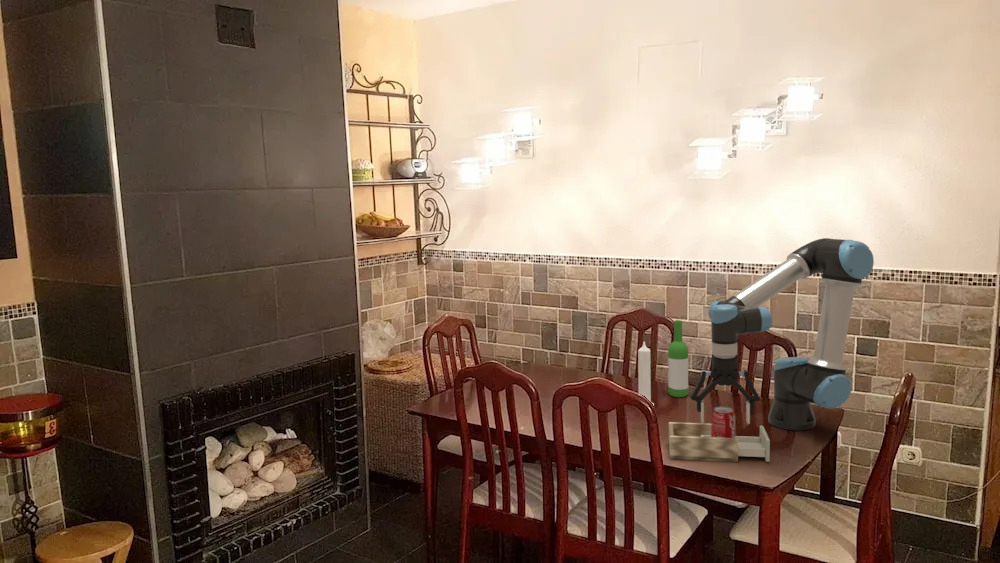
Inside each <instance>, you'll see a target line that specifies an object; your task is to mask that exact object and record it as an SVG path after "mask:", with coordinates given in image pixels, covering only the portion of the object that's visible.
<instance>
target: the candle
mask: <svg viewBox="0 0 1000 563" xmlns="http://www.w3.org/2000/svg"><path fill="white" fill-rule="evenodd" d="M646 344H647V343H646V341H643V342H642V346H641V347H640V348H639V349H637V356H638V357H637V358H638V360H637V361H638V362H637V363H638V364H637V368H638V371H637V374H638V377H637V378H638V380H637V383H638V390H637V391H638V393H639V394H641V395H643V396H645V397H646V398H647V399H648V400H649V401H650V402H651V403H652V404H653V406H654V407H655V403H654V402H652V400H651V399H652V398H651V392H652V391H651V389H652V388H651V349H650V348H649V347H647V345H646ZM639 394H638V395H639Z"/></svg>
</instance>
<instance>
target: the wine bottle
mask: <svg viewBox="0 0 1000 563" xmlns="http://www.w3.org/2000/svg"><path fill="white" fill-rule="evenodd" d="M673 322H674V323H673V324H674V328H673V329H674V330H673V332H674V333H673V335H674V337H673V341H672V342H671V343H670V344H669V345H668V349H667V354H668V357H667V362H668V363H667V367H668V368H667V371H668V372H667V382H668V383H667V385H668V386H667V388H668V390H667V391H668V395H670V396H671V397H673V398H684V397H687V396H688V394H689V349H688V348H689V347H688V345H687V343H685V342H684V341H683V320H680V319H677V320H675V321H673Z"/></svg>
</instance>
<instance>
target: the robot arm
mask: <svg viewBox="0 0 1000 563" xmlns="http://www.w3.org/2000/svg"><path fill="white" fill-rule="evenodd" d="M874 264H875V262H874V255H873V252H872V250H871V249H870V247H869V246H868V245H867V244H865V243H864V242H862V241H858V240H853V239H839V238H830V237H829V238H828V237H827V238H826V237H825V238H819V239H815V240H813V241H810V242H808V243H806V244H804V245H802V246H801V247H799V248H796V249H795V250H794V251H792V252H791V253H789V254H788V255H787V257H786V260H785V261H782V262H781V263H780V264H779V265H777V266H776V267H774V268H773V269H771V270H770V271H768V272H767V273H764V274H763V275H762V276H760V277H758V278H757V279H756V280H754V281H753V282H751V283H750V284H749V285H747V286H745V287H744V288H743V289H741V290H740V291H738V292H736V293H735V294H734V295H731V296H730V297H729V298H727V299H726V300H717V301H713V302H712V303H711V304H710V305H709V308H708V309H707V310H708V311H707V312H708V317H709V319H710V322H711V325H710V326H711V328H710V329H711V355H712V356H711V370H706V369H702V370H701V371H700V377H699V379H698V381H697V383H696V385H695V386H694V389H693V390H692V393H691V394H690V399H691V400H692V401H694V402H696V411H697V413H700V423H705V419H704V418H705V416H704V415H705V411H704V410H705V406H704V404H705V403H704V399H705V398H706V397H707V396H708V395H709V393H710V392H711V391H712V390H713V389H714V388H715V387H716V386H718V385H719V386H721V387H723V386H728V387H729V386H732V385H733V386H734V387H735V388H737V390H738V391H739V392H740V393H741V394H742V395H743V397H745V399H746V401H745V404H746V405H745V410H746V412H745V417H746V418H745V421H746V424H747V425H750V424H751V413H754V407H755V406H754V404H755V402H759V401H760V400H761V398H760V396H759V394H758V392H757V390H756V388H755V386H754V385H753V383H752V382H751V379H750V374H749V371H748V370H747V369H744V370H741V371H739V370H738V364H739V363H738V356H737V355H738V337H739V336H740V335H747V334H748V335H749V334H754V333H756V334H757V333H762V332H767V331H769V330H770V329H771V328H772V325H773V314H772V313H771V311H770V310H769V309H768V308H767V307H765V306H764V307H763V306H762V305H763V304H765V303H766V302H768V301H769V300H770V299H772V298H774V297H775V296H777V295H778V294H779V293H781V292H782V291H784V290H786V289H787V288H788V287H790V286H791V285H793V284H794V283H796V282H798V281H799V280H800V279H804V280H805V279H807V278H809V277H810V276H812V275H816V274H821V280H822V282H823V283H824V284H825V285H824V286H825V288H824V292H823V299H822V305H821V309H820V311H821V312H820V317H819V322H818V326H817V328H818V329H817V332H816V333H817V334H816V339H815V344H814V351H813V352H814V353H813V355H812V357H811V358H810V357H805V356H804V357H803V356H801V357H800V356H793V357H792V356H790V357H781V358H778V359H777V360H776V361H775V363H774V369H773V375H774V376H773V377H774V378H773V382H774V384H773V386H774V387H773V394H774V396H773V403H772V405H771V407H770V410H769V413H768V418H767V420H768V423H769V424H770V425H771V426H773V427H776V428H778V429H783V430H790V431H808V430H813V429H814V428H815V427H816V423H817V422H816V417H815V413H814V410H813V407H812V404H813V405H817V406H818V407H823V408H826V409H836V408H839V407H841V406H842V405H843V404H845V402H846V401H847V400H848V399H849V398H850V395H851V392H852V382H850V380H851V379H849V378H848V376H847V375H846V372H847V367H846V366H845V364H843V359H844V353H845V347H846V342H847V336H848V332H849V331H848V330H849V324H850V319H851V314H852V309H853V308H852V307H853V303H854V296H855V291H856V289H858V287H860V286H861V285H862V283H863V282H862V281H863V279H864V278H866V277H868V276H869V274H870V273H872V271H873V268H874ZM760 306H762V307H760ZM709 376H710V377H711V380H710V382H709V383H708V384H707V385H706V387H705V388H704V389H702V387H703V385H704V383H705V382H706V379H708V378H709ZM740 376H741V378H742V379H744V380H745V382H746V385H747V386H748V388H749V390H750V392H751V393H752V395H750V393H749V392H748V391H747V390H746V389H745V388H744V387H743V386H742V385H741V383H739V381H738V380H737V379H738V378H739V377H740ZM701 389H702V391H701ZM700 391H701V392H700ZM699 392H700V393H699ZM811 403H812V404H811Z"/></svg>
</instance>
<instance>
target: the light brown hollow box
mask: <svg viewBox="0 0 1000 563" xmlns="http://www.w3.org/2000/svg"><path fill="white" fill-rule="evenodd" d="M701 435H711V423H708V422H707V423H705V422H704V423H701V422H677V421H675V422H674V421H669V422H668V446H669V447H668V450H669V451H668V452H669V459H670V460H686V461H687V460H690V461H707V462H708V461H709V462H731V463H733V462H734V463H738V462H739V456H738V438H719V437H701Z"/></svg>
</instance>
